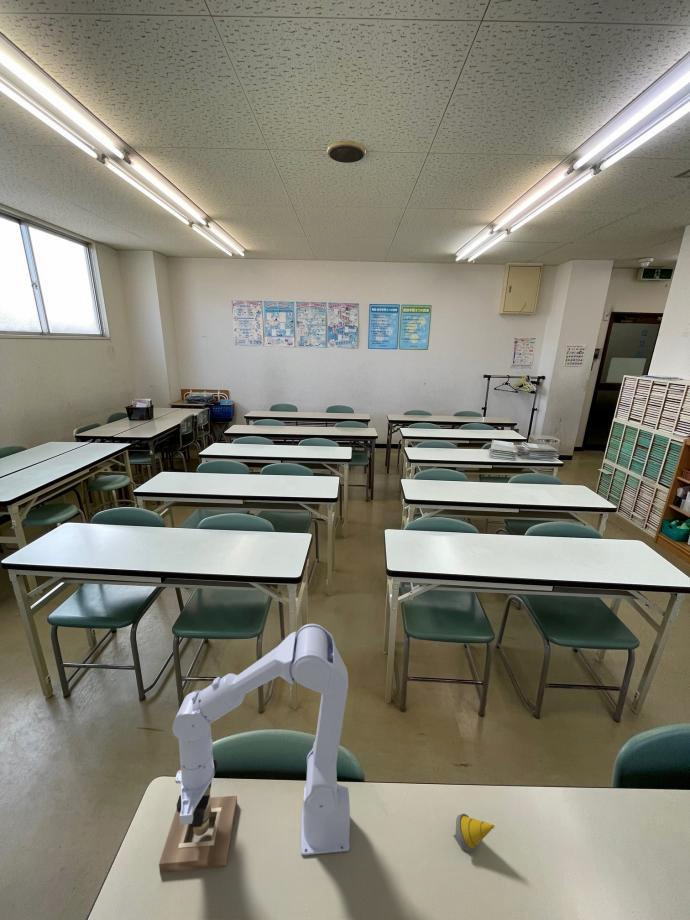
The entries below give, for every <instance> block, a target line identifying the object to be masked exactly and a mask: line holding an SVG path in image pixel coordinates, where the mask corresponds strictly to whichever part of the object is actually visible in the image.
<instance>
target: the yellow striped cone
mask: <svg viewBox="0 0 690 920" xmlns="http://www.w3.org/2000/svg"><path fill="white" fill-rule="evenodd" d="M495 827H496V825H495V824H492V823H488V822H485V821H482V820H479V819H475V818H473V817H470V816H469V815H468V814H466V813H461V814H458V815H457V817H456V820H455V834H453V837H454V839H455V841H456V842H457V844H458V846H459V848H460V850H461V851H465V852H468V853H471V852H474V851H476V850H477V848H478V845H479V844H480V842H481V841H483V839H484V838H485V837H486V836H488V834H489V833H490V832H491V831H492V830H493V829H494V828H495Z"/></svg>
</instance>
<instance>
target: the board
mask: <svg viewBox="0 0 690 920" xmlns="http://www.w3.org/2000/svg"><path fill="white" fill-rule="evenodd" d="M210 800H211V815H210V818H209V821H214V820H215V821H214V826H213V829H212V830H213V831H212V834H211V838H210V840H207V841H193V842H188V838H189V834H190V831H191V828H192V827H191V826H190V824H181V825H180V813H179V812H178V811H177V808H176V810H175V812H174V815H173V819H172V822H171V826H170V828H169V831H168V835H167V837H166V841H165V844H164V846H163V849H162V853H161V857H160V859H159V861H158V862H159V863H158V868H159V873H165V872H167V873H168V872H177V871H178V872H179V871H187V870H188V871H190V870H200V869H210V868H211V869H212V868H221V867H227V862H228V855H229V851H230V846H231V839H232V835H233V830H232V829H233V828H234V824H235V823H234V822H235V818H236V817H235V816H236V811H237V808H238V807H237V806H238V796H237V795H229V796H226V795H225V796H217V797H216V796H213V797H210Z"/></svg>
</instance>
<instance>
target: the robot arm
mask: <svg viewBox="0 0 690 920" xmlns="http://www.w3.org/2000/svg"><path fill="white" fill-rule="evenodd" d="M278 677H280V678H281V679H283V680H285V681H286V682H287V683H288V684H290V685H294V684H295V683H294V682H296V683H297V684H299V685H300V686H302V687H305V688H307V689H308V690H309V689H310V690H312V691H314V692H317V693H319V694H321V695H320V696H321V697H320V704H319V710H318V716H317V717H318V718H317V725H316V732H315V738H314V739H315V740H314V741H313V744H312V745H313V746H312V749H311V750H310V751H309V753H308V754H307V756H306V765H307V766H306V779H305V780H306V783H305V786H304V789H303V793H302V794H303V796H302V797H303V799H302V807H303V808H302V809H301V823H300V824H301V826H300V827H301V831H300V833H301V835H300V854H301V855H302V856H309V855H318V854H330V853H341V852H348V851H350V848H351V846H350V832H351V831H350V827H351V811H350V810H351V809H350V794H349V793H350V791H349V787H348V786H346V785H341V784H338V778H337V777H338V776H337V771H338V770H337V763H338V756H339V750H340V749H339V748H340V742H341V736H342V729H343V722H344V716H345V709H346V703H347V702H346V701H347V697H348V689H349V673H348V668H347V666H346V664H345V663H344V661H343V659H342V656H341V654H340V653H339V650H338V649H337V646H336V642H335V640H334V637H333V635H332V633H330V632H329V631H328V630H327V629H326V628H324V627H323V626H322V625H320V624H317V623H307V624H304V625H302V626H301V627H299V629H298V631H293V632H291V633H289V635H287V636H286V637H285V638H284V639H283V641H281V643H279V645H277V646H276V647H275V648H273V649H272V650H270V651H269V652H267V653H266V654H265V655H264V656H262V657H261V658H260V659H258V660H257V661H256V662H254V663H253V664H251V665H250V666H248V667H247V668H245V669H244V670H243V671H242V672H240V673H239V674H235V673H232V672H231V673H228V674H227V673H226V675H224V676H222V677H220V676H218V677H216V678H214V680H213V682H212V684H209V686H207V687H205V688H203V689H202V690H193V691H192V692H190V693H188V694H187V695H186V696H185V697H184V699H183V701H182V703H181V706H180V707H179V710H178V712H177V714H176V716H175V718H174V720H173V723H172V725H171V726H172V728H171V730H172V733H173V735H174V737H175V738H177V740H178V751H179V763H180V770H178V771H177V772H176V775H175V778H174V782H175V784H180V795H179V797H178V800H177V803H176V809H177V811H178V812H179V813H180V825H181V824H190V826H191V828H193V827H201V826H202V823H203V819H204V811H205V810H206V808H207V805H208V802H209V798H211V794H210V795H206V796H203V795H204V793H205V791H206V790H207V788H208V786H209V788H210V790H211V787H212V782H213V779H214V776H215V775H216V772H217V770H218V769H217V768H218V761H217V760H216V759H214V756H213V747H214V746H213V739H212V738H213V737H212V728H211V724H212V723H214V722H216V721H217V720H219V719H220V718H221V717H223V716H225V715H226V714H228V713H229V712H232V710H235V709H236V708H237V707H240V705H241V704H243V702H244V700H245V695H246V694H247V693H249V692H251V691H254V690H255V689H257V688H259V687H261V686H263V685H265V684H267V683H268V682H270V681H272V680H274V679H277V678H278Z"/></svg>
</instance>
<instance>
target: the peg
mask: <svg viewBox="0 0 690 920" xmlns="http://www.w3.org/2000/svg"><path fill="white" fill-rule="evenodd" d="M206 795H210V796H211V789H210V788H209V786H208V788H207V790H206V791H205V793H204V795H203V796H206ZM210 798H211V797H210ZM210 798H209V802H208V805H207V808H206V810H205V811H204V819H203V823H202V826H201V827H192V828H193V829H192V830H193V834H194V835H195V836H197V837H198V836H199V837H200V836H201V837H202V836H203V835H204V834H206V833H207V832H208V830H209V828H210V820H209V818H210V815H211V800H210Z"/></svg>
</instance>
